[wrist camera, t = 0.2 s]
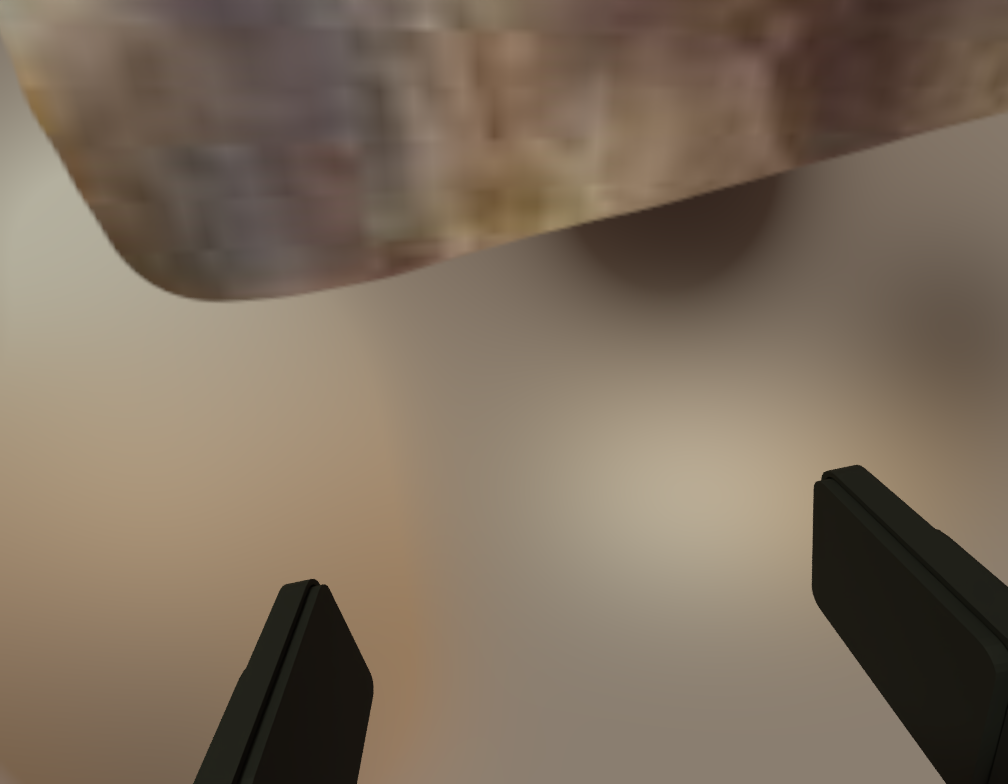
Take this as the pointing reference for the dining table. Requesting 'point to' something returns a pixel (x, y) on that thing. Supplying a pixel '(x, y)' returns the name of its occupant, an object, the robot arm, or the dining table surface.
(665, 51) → the dining table surface
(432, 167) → the dining table surface
